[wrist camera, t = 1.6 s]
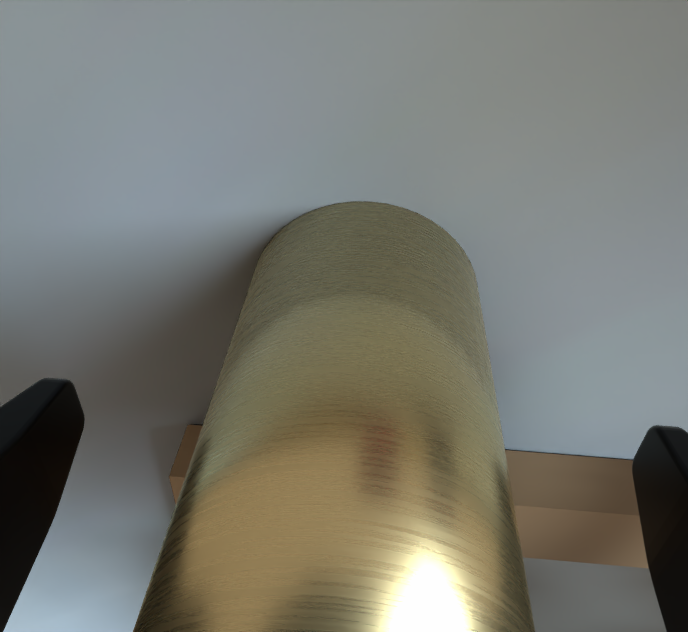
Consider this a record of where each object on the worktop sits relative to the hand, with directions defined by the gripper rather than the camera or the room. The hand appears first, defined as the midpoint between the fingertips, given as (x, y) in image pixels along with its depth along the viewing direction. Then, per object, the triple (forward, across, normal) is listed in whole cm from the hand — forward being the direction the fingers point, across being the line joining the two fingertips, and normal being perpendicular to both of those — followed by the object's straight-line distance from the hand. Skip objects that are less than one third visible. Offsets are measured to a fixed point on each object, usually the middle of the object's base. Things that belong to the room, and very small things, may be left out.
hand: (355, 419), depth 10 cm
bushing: (+3, 0, 0) cm, 3 cm away
